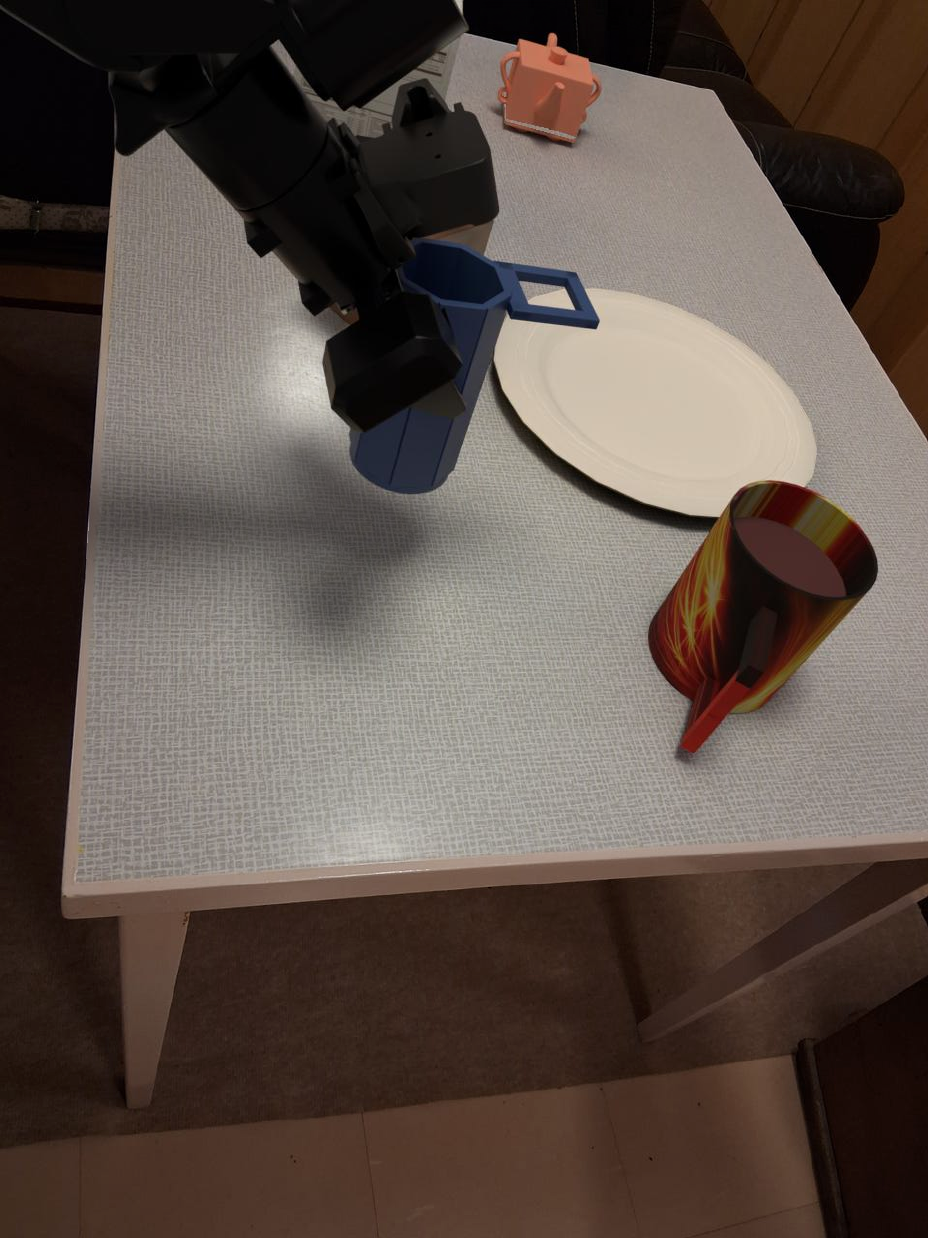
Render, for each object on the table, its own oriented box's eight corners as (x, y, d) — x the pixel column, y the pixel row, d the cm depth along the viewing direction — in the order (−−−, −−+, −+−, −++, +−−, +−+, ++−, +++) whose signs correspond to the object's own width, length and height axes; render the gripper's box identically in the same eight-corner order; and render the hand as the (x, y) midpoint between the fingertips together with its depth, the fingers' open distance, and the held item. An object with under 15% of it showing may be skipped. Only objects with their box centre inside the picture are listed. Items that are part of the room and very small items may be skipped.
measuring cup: (356, 491, 57) (402, 298, 48) (342, 422, 61) (383, 231, 51) (531, 501, 61) (607, 324, 51) (508, 435, 64) (574, 259, 55)
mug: (673, 763, 60) (768, 650, 51) (637, 592, 68) (713, 469, 59) (810, 775, 62) (925, 669, 53) (758, 608, 70) (850, 492, 61)
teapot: (579, 109, 118) (604, 37, 111) (589, 168, 108) (617, 93, 102) (486, 83, 115) (506, 7, 109) (488, 141, 106) (510, 62, 100)
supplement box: (417, 226, 91) (465, 29, 78) (277, 192, 88) (302, -19, 75) (421, 159, 99) (464, -29, 86) (293, 126, 97) (318, -74, 83)
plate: (520, 266, 91) (527, 248, 90) (803, 371, 93) (813, 355, 92) (453, 453, 72) (460, 434, 71) (811, 581, 74) (824, 565, 72)
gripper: (472, 167, 36) (621, 412, 48) (389, -35, 47) (528, 207, 59) (240, 324, 39) (433, 517, 51) (212, 102, 50) (378, 304, 62)
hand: (447, 374), depth 56 cm, fingers closed on measuring cup, 6 cm apart
